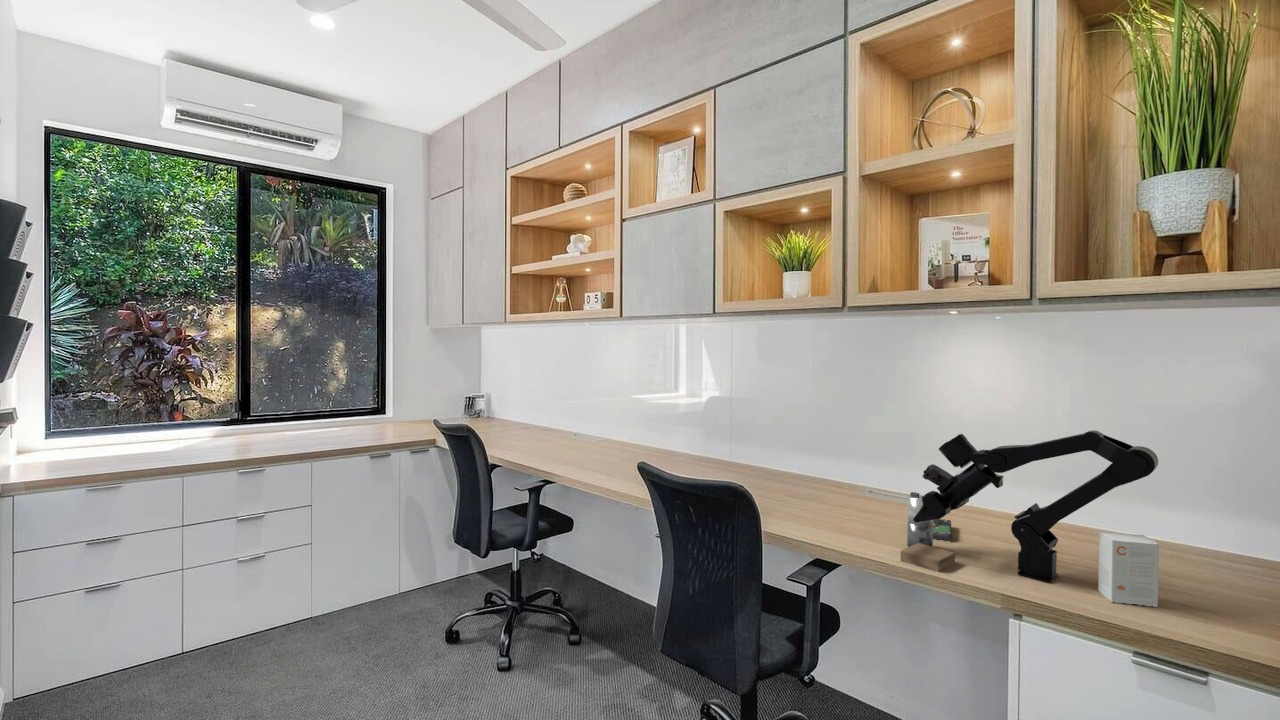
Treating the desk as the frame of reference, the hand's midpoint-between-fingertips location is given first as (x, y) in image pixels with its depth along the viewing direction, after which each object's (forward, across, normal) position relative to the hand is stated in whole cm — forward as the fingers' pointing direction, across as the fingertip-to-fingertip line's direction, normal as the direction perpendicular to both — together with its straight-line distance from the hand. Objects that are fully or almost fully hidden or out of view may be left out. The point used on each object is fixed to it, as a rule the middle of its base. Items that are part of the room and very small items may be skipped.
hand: (921, 517), depth 154 cm
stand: (+2, +10, +9) cm, 13 cm away
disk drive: (+8, -16, +4) cm, 19 cm away
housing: (+6, 0, +6) cm, 8 cm away
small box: (-24, +2, +35) cm, 43 cm away
